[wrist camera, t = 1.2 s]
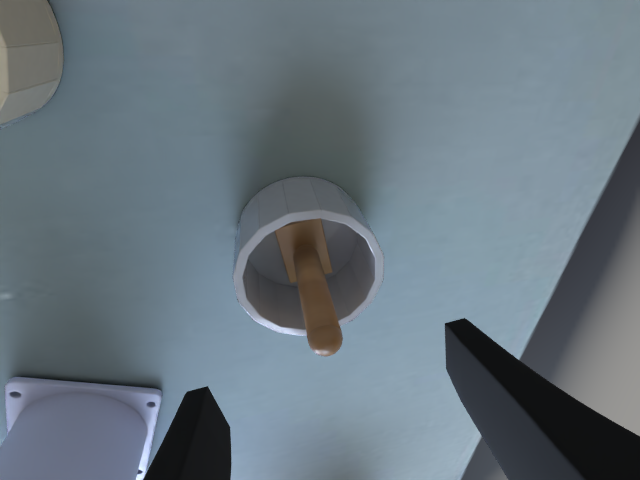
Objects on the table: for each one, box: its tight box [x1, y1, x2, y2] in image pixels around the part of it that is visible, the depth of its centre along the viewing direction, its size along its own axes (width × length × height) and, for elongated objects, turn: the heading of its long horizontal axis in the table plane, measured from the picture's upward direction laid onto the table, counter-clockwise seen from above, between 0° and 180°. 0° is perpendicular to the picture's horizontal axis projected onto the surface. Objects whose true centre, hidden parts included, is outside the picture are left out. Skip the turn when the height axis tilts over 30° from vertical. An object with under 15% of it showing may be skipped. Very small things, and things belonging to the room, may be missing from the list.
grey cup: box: [233, 176, 384, 336], centre depth 18 cm, size 6×6×4 cm
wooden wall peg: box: [275, 218, 343, 356], centre depth 16 cm, size 3×2×7 cm
